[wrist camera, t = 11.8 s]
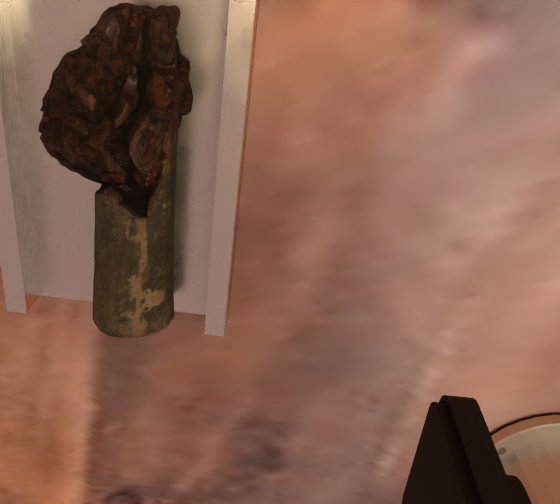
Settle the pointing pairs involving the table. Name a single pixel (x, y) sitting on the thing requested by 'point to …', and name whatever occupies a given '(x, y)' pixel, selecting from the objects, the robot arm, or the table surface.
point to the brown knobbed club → (125, 156)
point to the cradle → (81, 192)
